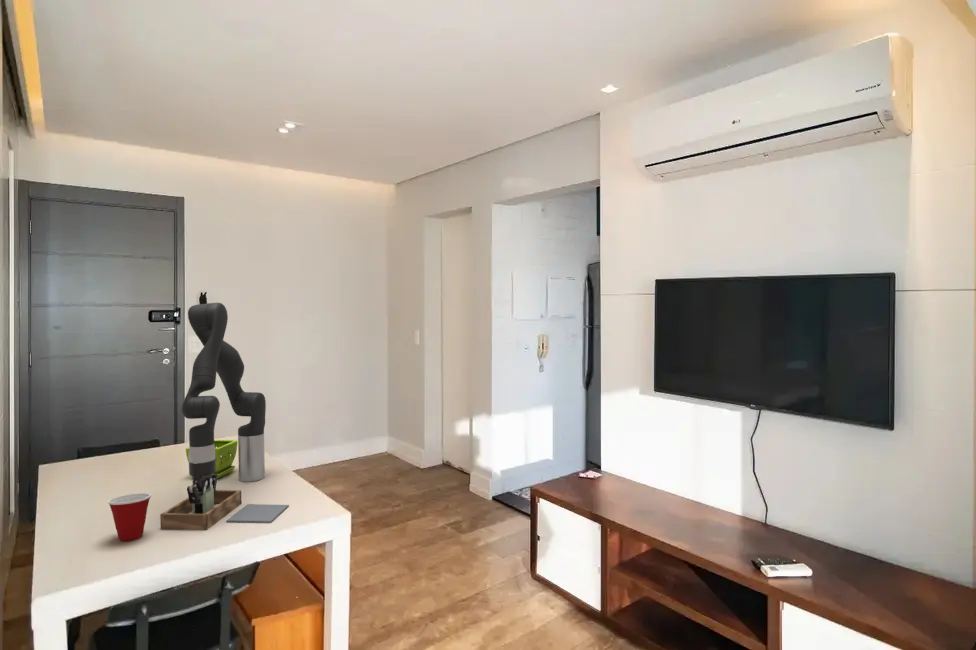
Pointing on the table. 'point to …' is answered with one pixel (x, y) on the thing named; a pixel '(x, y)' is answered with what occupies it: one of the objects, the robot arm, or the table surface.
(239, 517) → the slate mat
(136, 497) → the plastic cup
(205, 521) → the wooden frame
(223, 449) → the flower pot
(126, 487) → the table surface
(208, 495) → the sage block
